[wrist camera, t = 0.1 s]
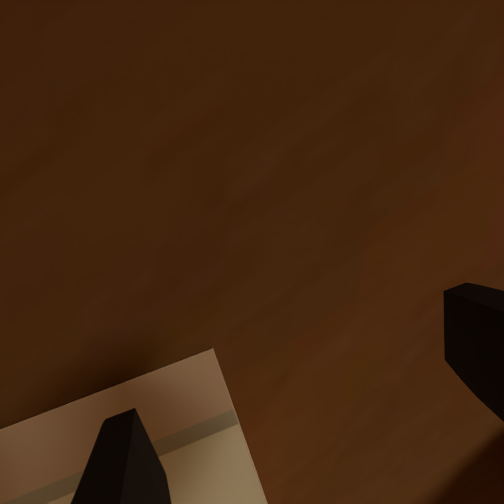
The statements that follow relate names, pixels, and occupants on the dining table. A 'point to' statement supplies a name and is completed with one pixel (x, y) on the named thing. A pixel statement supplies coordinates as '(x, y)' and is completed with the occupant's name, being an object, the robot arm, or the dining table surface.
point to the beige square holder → (158, 429)
